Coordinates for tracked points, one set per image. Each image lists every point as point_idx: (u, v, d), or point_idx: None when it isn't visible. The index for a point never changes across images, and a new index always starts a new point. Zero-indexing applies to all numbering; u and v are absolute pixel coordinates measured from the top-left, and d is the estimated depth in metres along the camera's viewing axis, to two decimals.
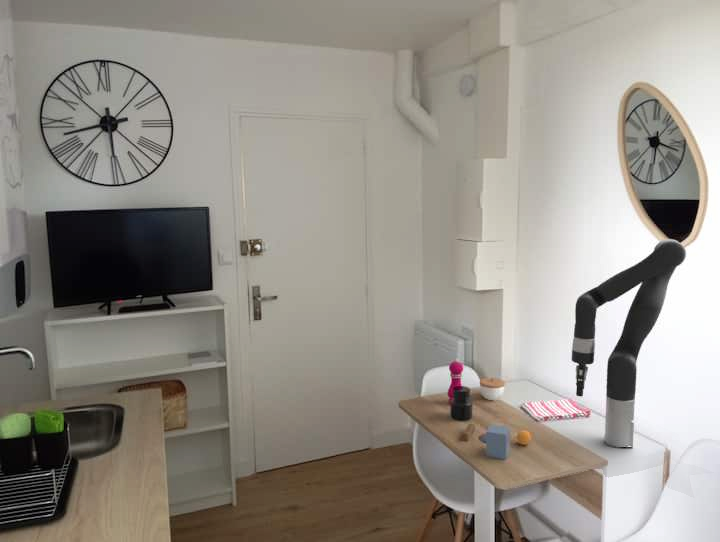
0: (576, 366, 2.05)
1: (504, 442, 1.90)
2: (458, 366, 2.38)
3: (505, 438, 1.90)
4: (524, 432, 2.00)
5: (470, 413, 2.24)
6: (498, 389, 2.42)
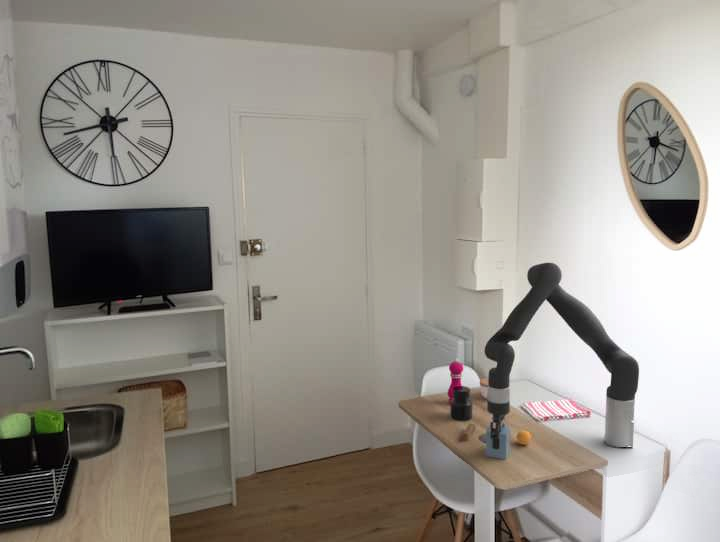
0: None
1: (504, 442, 1.90)
2: (458, 366, 2.38)
3: (505, 438, 1.90)
4: (524, 432, 2.00)
5: (470, 413, 2.24)
6: None
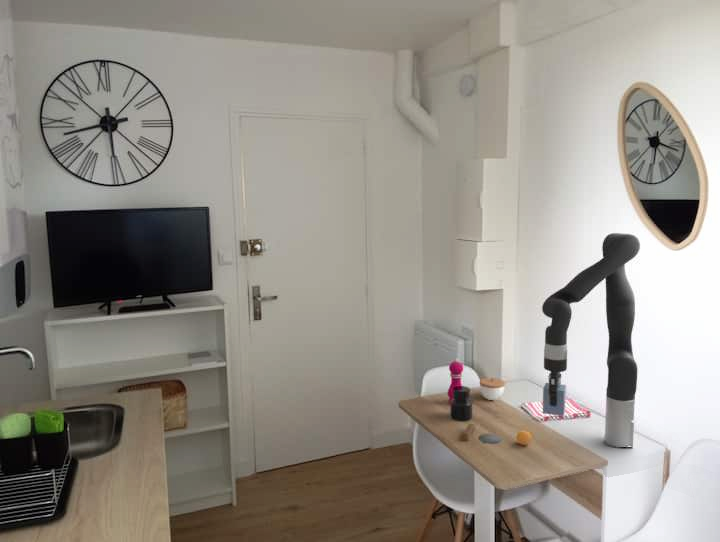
0: (549, 374, 1.96)
1: (562, 399, 1.91)
2: (458, 366, 2.38)
3: (563, 394, 1.91)
4: (524, 432, 2.00)
5: (470, 413, 2.24)
6: (498, 389, 2.42)
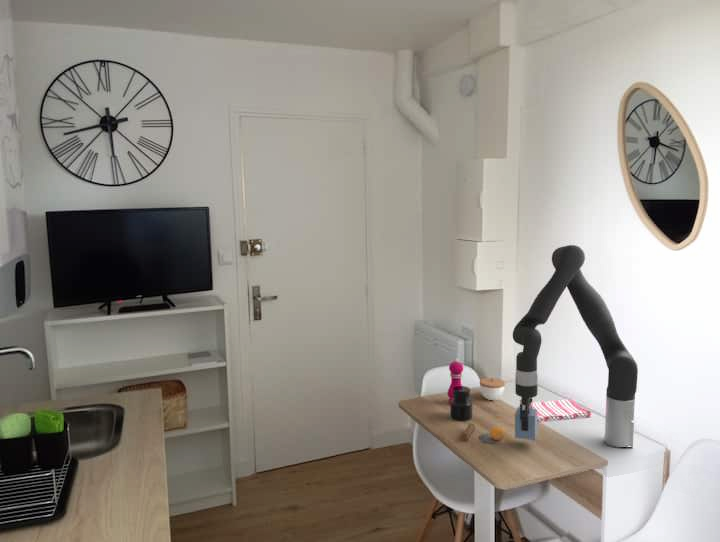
0: (521, 399, 2.01)
1: (533, 423, 1.96)
2: (458, 366, 2.38)
3: (534, 419, 1.96)
4: (499, 439, 2.05)
5: (470, 413, 2.24)
6: (498, 389, 2.42)
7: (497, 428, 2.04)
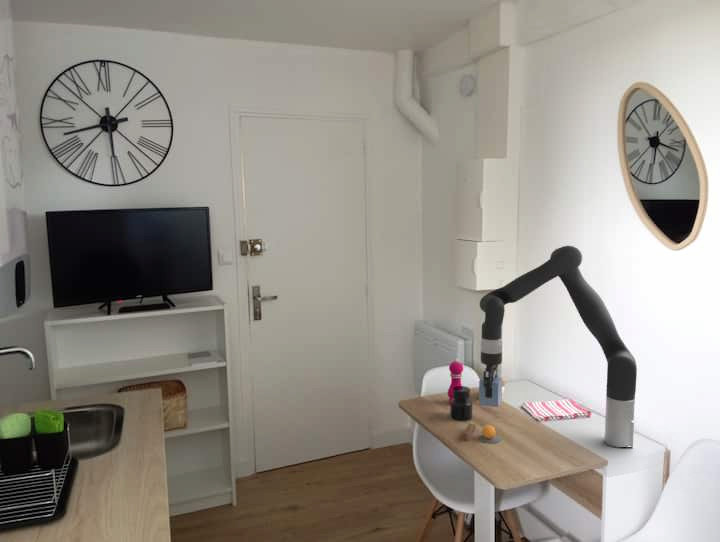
0: None
1: (496, 390, 2.00)
2: (458, 366, 2.38)
3: (497, 387, 2.00)
4: (494, 433, 2.05)
5: (470, 413, 2.24)
6: None
7: (482, 429, 2.07)
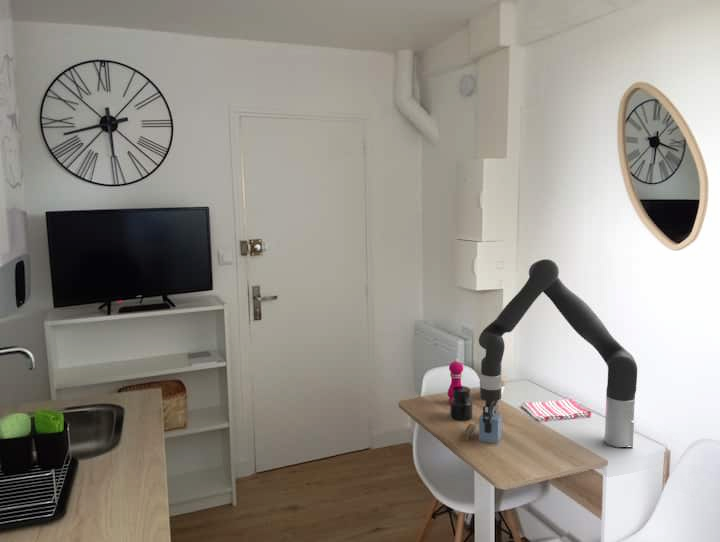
0: None
1: (496, 427, 2.02)
2: (458, 366, 2.38)
3: (497, 424, 2.02)
4: None
5: (470, 413, 2.24)
6: None
7: None
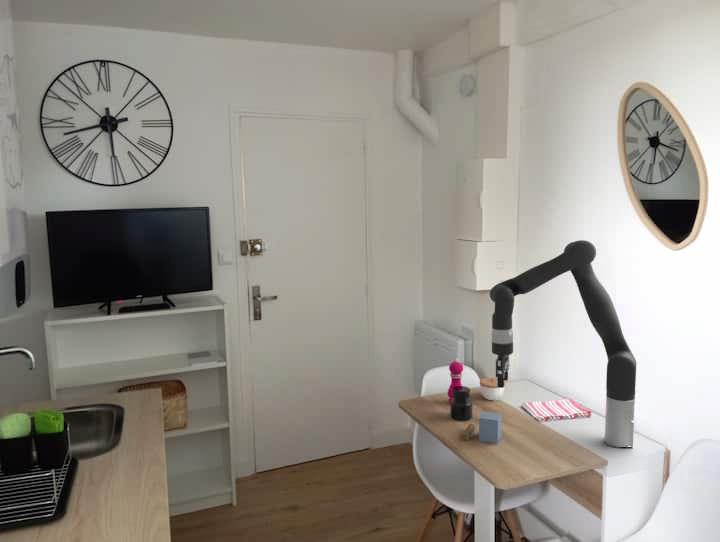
0: (497, 358, 2.04)
1: (496, 427, 2.02)
2: (458, 366, 2.38)
3: (497, 424, 2.02)
4: None
5: (470, 413, 2.24)
6: (498, 389, 2.42)
7: None
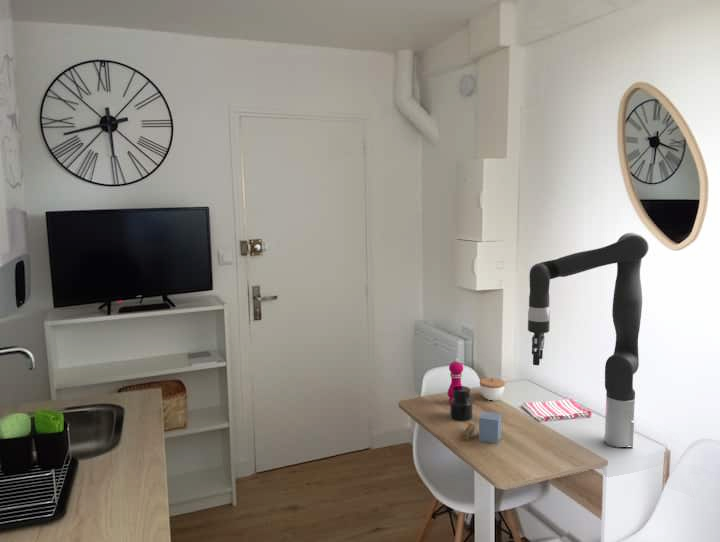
0: (533, 336, 2.06)
1: (496, 427, 2.02)
2: (458, 366, 2.38)
3: (497, 424, 2.02)
4: None
5: (470, 413, 2.24)
6: (498, 389, 2.42)
7: None
